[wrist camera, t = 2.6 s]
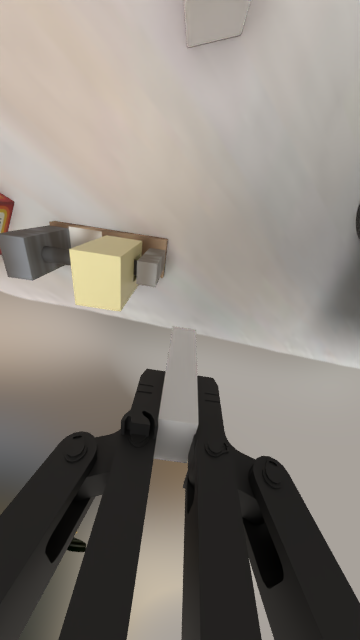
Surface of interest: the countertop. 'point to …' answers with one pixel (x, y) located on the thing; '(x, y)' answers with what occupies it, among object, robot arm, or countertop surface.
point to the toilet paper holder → (55, 241)
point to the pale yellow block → (105, 271)
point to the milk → (213, 20)
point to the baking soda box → (5, 213)
